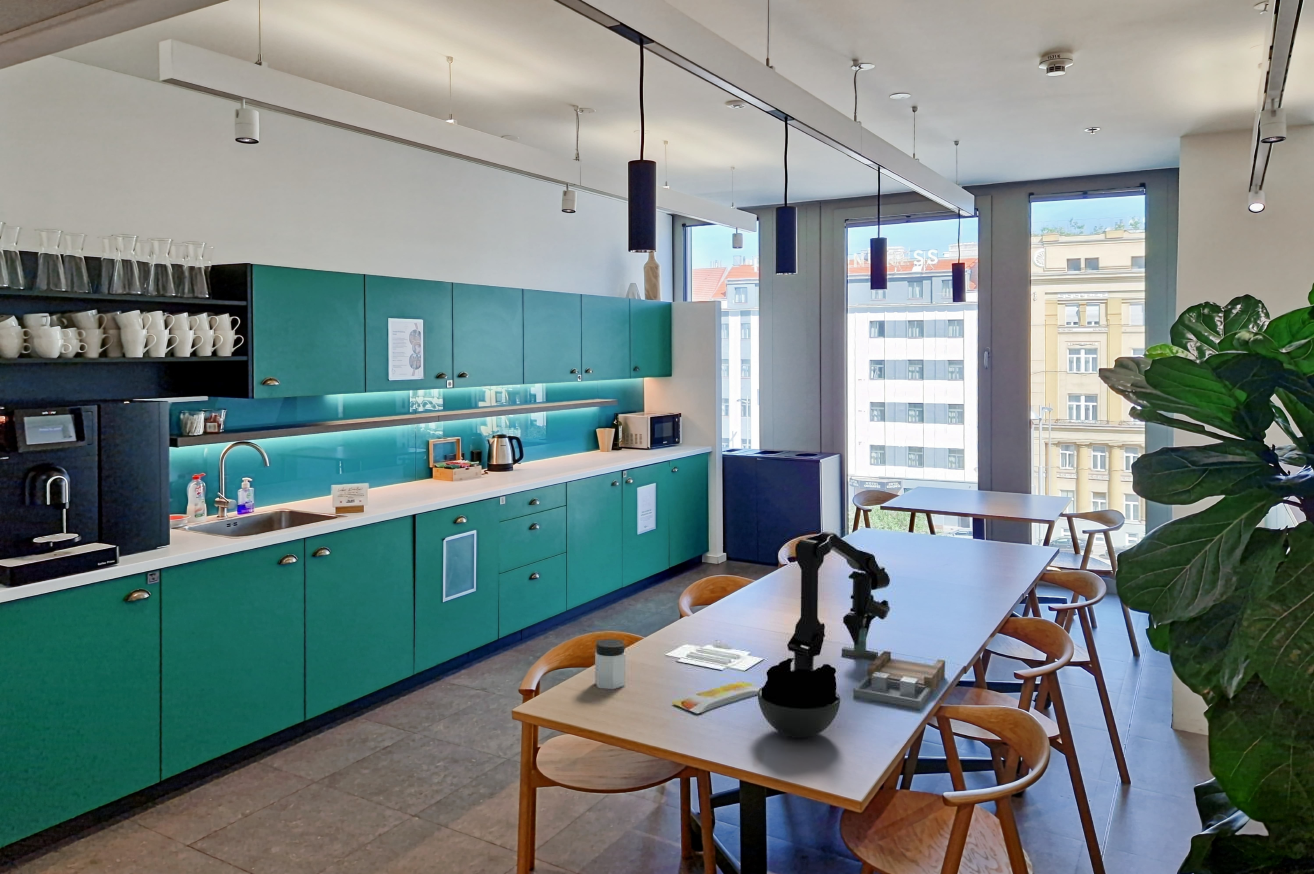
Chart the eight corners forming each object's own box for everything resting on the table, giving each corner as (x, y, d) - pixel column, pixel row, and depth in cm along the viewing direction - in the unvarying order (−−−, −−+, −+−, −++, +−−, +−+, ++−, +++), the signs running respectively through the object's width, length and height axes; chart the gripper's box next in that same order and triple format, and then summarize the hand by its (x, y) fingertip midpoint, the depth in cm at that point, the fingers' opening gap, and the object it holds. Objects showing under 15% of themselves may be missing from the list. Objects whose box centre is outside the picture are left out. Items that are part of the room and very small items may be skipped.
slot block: (930, 695, 249) (931, 677, 248) (867, 683, 258) (867, 666, 257) (944, 677, 264) (945, 660, 264) (883, 666, 273) (884, 650, 273)
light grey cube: (917, 692, 249) (914, 697, 245) (903, 690, 251) (899, 694, 247) (918, 678, 248) (914, 682, 245) (903, 676, 250) (900, 680, 247)
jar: (627, 688, 252) (627, 646, 251) (598, 690, 250) (599, 648, 249) (620, 678, 260) (621, 637, 259) (593, 680, 258) (593, 639, 257)
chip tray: (919, 710, 237) (919, 701, 237) (853, 697, 246) (853, 689, 246) (930, 695, 248) (931, 686, 248) (866, 684, 257) (866, 675, 257)
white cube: (889, 687, 253) (885, 692, 249) (875, 685, 255) (871, 689, 251) (889, 673, 252) (885, 677, 249) (875, 671, 254) (871, 675, 251)
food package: (742, 677, 257) (768, 686, 250) (742, 685, 257) (768, 694, 250) (671, 698, 239) (696, 709, 232) (671, 707, 239) (696, 717, 232)
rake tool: (875, 661, 278) (876, 632, 278) (841, 656, 284) (842, 627, 283) (878, 659, 281) (879, 629, 281) (844, 653, 286) (845, 624, 286)
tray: (740, 676, 265) (740, 664, 265) (659, 663, 279) (658, 652, 279) (768, 658, 282) (768, 646, 282) (690, 647, 297) (690, 636, 297)
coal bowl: (740, 732, 221) (741, 657, 220) (794, 713, 234) (795, 642, 233) (802, 758, 206) (803, 678, 205) (856, 737, 219) (858, 661, 218)
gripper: (879, 601, 269) (877, 652, 270) (895, 589, 285) (893, 637, 286) (843, 596, 274) (841, 646, 275) (860, 585, 291) (859, 632, 292)
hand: (860, 640), depth 282 cm, fingers open, 9 cm apart
